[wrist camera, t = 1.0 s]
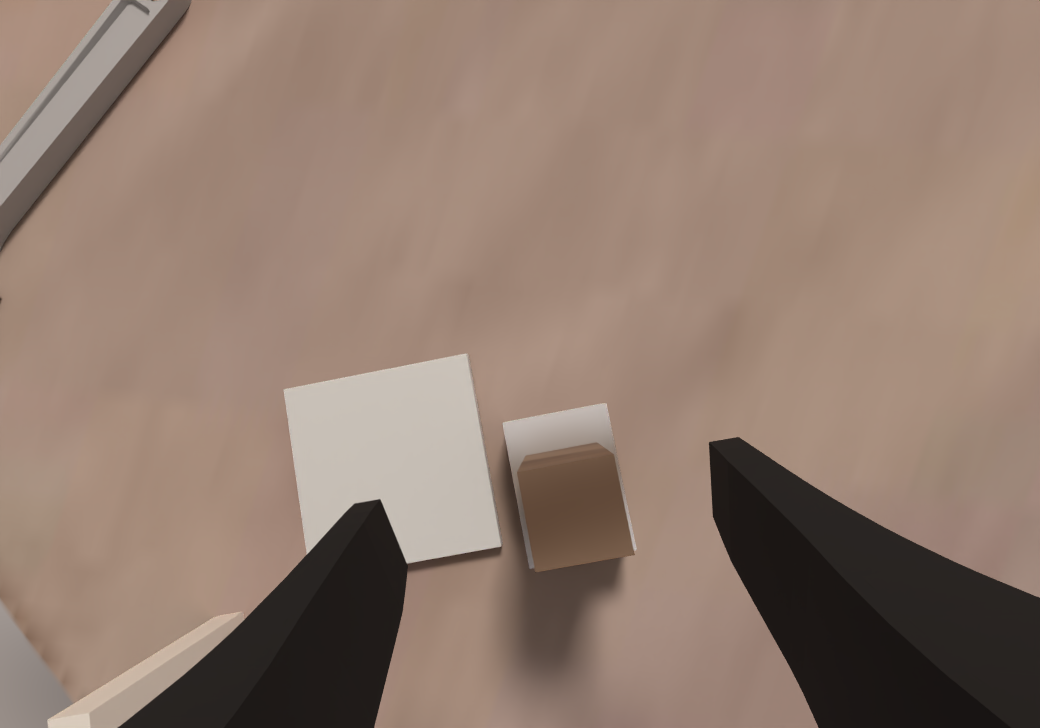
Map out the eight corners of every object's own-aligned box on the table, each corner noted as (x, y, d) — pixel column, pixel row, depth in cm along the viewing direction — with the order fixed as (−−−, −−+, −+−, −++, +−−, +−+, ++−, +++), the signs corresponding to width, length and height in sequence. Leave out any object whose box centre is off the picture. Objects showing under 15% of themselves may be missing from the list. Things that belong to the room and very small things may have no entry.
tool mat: (502, 543, 23) (501, 546, 23) (316, 576, 24) (310, 580, 23) (468, 354, 24) (466, 353, 24) (290, 389, 25) (283, 389, 24)
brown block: (625, 531, 23) (669, 602, 15) (532, 548, 23) (522, 627, 15) (599, 403, 24) (626, 401, 15) (508, 421, 24) (485, 427, 15)
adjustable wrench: (173, -27, 28) (148, -57, 26) (256, 39, 27) (235, 13, 25) (-140, 316, 27) (-189, 309, 25) (-62, 393, 26) (-106, 392, 24)
